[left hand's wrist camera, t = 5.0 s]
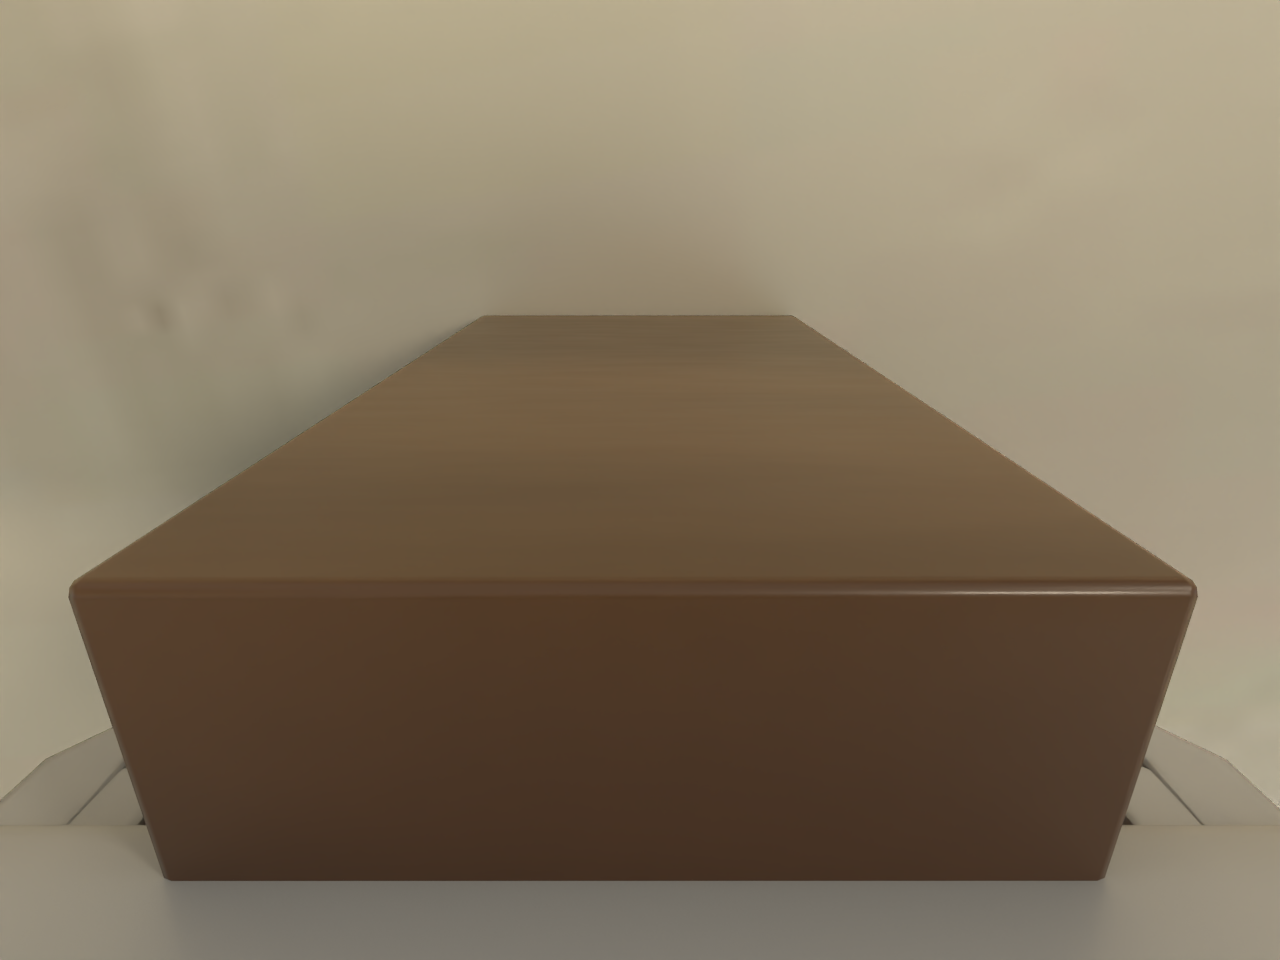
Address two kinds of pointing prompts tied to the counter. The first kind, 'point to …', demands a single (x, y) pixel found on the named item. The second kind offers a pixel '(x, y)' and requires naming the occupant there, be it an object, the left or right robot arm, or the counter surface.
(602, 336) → the box
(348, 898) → the left robot arm
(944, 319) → the counter surface
